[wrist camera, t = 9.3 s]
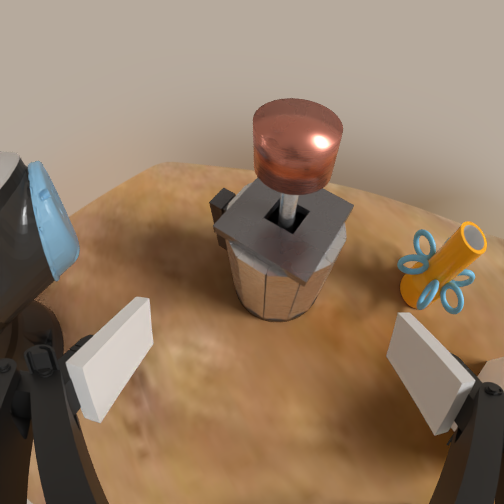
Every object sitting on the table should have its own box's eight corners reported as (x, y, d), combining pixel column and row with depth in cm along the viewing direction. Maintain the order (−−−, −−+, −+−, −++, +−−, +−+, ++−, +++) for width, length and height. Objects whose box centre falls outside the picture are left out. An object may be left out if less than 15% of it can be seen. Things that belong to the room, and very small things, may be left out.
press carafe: (201, 279, 39) (174, 214, 25) (250, 222, 43) (246, 144, 30) (290, 338, 35) (310, 299, 21) (333, 271, 39) (366, 203, 26)
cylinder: (371, 265, 39) (415, 200, 26) (421, 246, 40) (468, 186, 27) (406, 342, 34) (473, 305, 20) (455, 313, 35) (519, 270, 22)
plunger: (247, 277, 35) (234, 126, 16) (272, 244, 38) (282, 90, 18) (285, 301, 34) (319, 163, 15) (309, 266, 36) (355, 119, 17)
